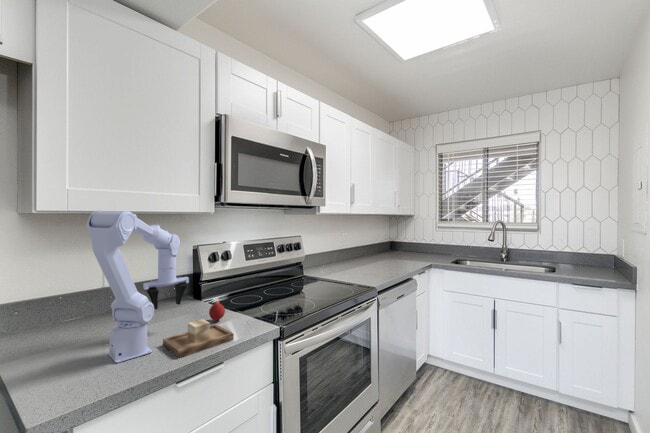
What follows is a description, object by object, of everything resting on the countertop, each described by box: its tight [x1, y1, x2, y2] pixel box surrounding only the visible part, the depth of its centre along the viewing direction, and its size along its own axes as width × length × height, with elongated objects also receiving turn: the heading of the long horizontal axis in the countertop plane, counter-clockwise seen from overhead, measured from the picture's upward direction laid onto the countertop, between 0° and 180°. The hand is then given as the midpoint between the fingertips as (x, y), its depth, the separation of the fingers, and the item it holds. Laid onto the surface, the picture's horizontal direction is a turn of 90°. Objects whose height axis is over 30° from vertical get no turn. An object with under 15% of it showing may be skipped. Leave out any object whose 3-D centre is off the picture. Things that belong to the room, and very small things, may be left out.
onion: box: [208, 300, 226, 322], centre depth 121 cm, size 6×6×8 cm
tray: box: [162, 324, 234, 359], centre depth 101 cm, size 18×12×2 cm, turn 138°
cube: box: [187, 318, 211, 342], centre depth 101 cm, size 5×5×5 cm
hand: (166, 306), depth 109 cm, fingers open, 7 cm apart
